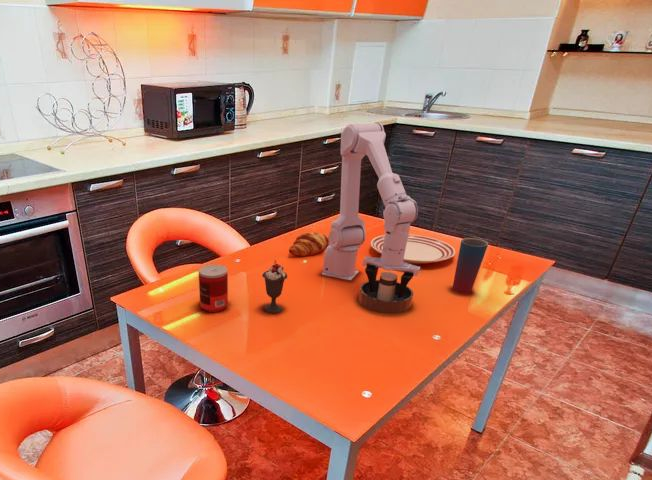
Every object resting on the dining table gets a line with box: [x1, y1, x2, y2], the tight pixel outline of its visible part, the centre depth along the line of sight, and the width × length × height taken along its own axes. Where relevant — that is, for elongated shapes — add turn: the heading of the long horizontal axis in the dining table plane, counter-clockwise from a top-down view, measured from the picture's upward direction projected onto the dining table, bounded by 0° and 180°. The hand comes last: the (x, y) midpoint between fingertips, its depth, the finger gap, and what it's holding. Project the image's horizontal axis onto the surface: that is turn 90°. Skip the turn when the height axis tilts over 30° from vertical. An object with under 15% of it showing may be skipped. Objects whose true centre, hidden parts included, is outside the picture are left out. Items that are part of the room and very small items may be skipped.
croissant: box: [288, 231, 330, 257], centre depth 168 cm, size 21×10×8 cm, turn 132°
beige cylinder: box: [377, 271, 399, 301], centre depth 131 cm, size 4×4×8 cm
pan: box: [358, 279, 414, 315], centre depth 133 cm, size 14×14×4 cm
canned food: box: [198, 264, 229, 313], centre depth 131 cm, size 8×8×11 cm
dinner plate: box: [370, 233, 456, 265], centre depth 164 cm, size 28×27×3 cm
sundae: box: [261, 260, 288, 314], centre depth 128 cm, size 7×7×15 cm
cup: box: [451, 237, 489, 295], centre depth 136 cm, size 7×7×15 cm
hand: (385, 293), depth 132 cm, fingers open, 7 cm apart
